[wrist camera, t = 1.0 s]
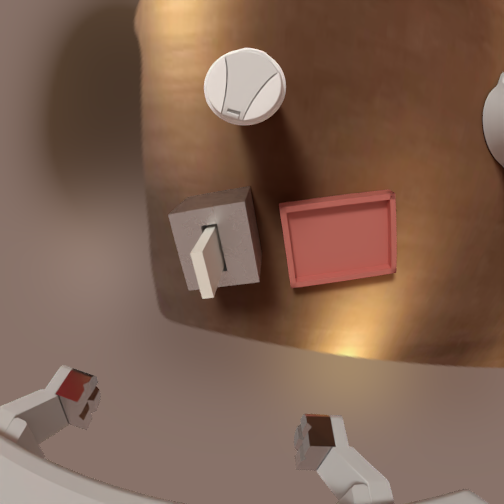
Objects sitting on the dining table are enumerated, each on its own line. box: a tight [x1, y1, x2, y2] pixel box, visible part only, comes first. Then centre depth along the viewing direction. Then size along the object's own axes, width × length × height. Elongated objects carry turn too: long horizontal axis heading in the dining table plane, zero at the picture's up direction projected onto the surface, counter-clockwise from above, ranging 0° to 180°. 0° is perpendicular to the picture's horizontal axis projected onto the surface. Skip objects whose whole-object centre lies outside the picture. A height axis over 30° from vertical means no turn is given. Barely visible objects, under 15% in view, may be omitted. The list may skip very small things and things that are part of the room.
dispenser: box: [168, 186, 262, 290], centre depth 42 cm, size 9×10×9 cm
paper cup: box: [204, 48, 286, 125], centre depth 32 cm, size 8×8×14 cm
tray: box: [279, 190, 397, 288], centre depth 44 cm, size 16×12×2 cm
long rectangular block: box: [190, 224, 225, 299], centre depth 36 cm, size 1×5×12 cm, turn 10°
